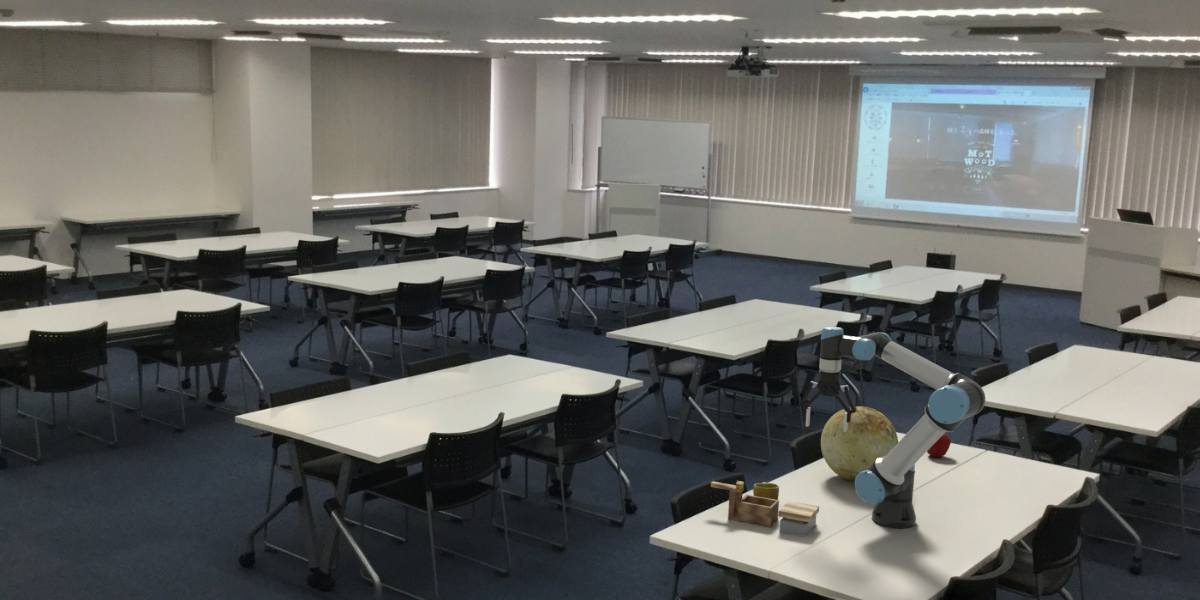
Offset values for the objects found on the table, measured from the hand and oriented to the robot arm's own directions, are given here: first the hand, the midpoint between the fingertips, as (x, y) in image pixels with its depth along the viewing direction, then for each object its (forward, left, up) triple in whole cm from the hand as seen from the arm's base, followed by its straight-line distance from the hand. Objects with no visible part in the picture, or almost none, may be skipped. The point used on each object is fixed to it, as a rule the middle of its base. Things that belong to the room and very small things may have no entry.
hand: (826, 428), depth 372 cm
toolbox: (+19, +19, -32) cm, 42 cm away
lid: (+3, +19, -27) cm, 33 cm away
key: (+30, +19, -22) cm, 42 cm away
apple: (-26, -98, -32) cm, 106 cm away
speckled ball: (-3, -46, -32) cm, 56 cm away
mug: (+20, +2, -32) cm, 38 cm away
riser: (+3, +19, -32) cm, 37 cm away
